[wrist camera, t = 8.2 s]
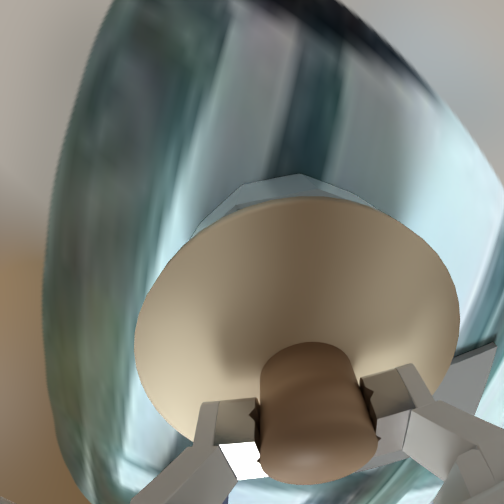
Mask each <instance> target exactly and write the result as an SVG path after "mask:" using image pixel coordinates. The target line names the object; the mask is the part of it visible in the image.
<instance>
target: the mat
mask: <svg viewBox="0 0 504 504" xmlns="http://www.w3.org/2000/svg"><path fill="white" fill-rule="evenodd" d="M496 349H497V346H496V344H495V343H494V342H492V343H489V344H487V345H485V346H482V347H480V348H477V349H475V350H472V351H470V352H467V353H465V354H462V355H459V356H457V357H454V358H453V359H452V361H451V364H450V367H449V369H448V371H447V373H446V375H445V377H444V379H443V380H442V382H441V384H440V385H439V387H438V388H437V390H436V391H435V393H434V394H433V395H432V396H433V398H434V400H435V402H436V401H439V400H441V401H443V402H446V403H448V404H450V405H452V406H454V407H456V408H458V409H460V410H463V411H465V412H467V413H469V414H471V415H473V416H474V415H475V412H476V410H477V407H478V405H479V402H480V399H481V397H482V394H483V391H484V388H485V385H486V382H487V379H488V376H489V373H490V370H491V367H492V363H493V360H494V356H495V353H496ZM402 450H403V449H402ZM402 450H399V451H395V452H392V453H388V454H384V455H380V456H376V457H372V459H371V460H370V461H369V462H368V463H367V464H366V465H364V466H363V467H362V468H360V469H359V470H357V471H355V473H356V472H360V471H364V470H368V469H372V468H376V467H379V466H383V465H386V464H390V463H393V462H396V461H400V460H403V459H406V458H409V457H410V456H409V455H407V454H406V453H405V452H403V451H402Z"/></svg>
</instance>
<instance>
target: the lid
mask: <svg viewBox="0 0 504 504" xmlns="http://www.w3.org/2000/svg"><path fill="white" fill-rule="evenodd" d="M459 326H460V313H459V302H458V297H457V293H456V289H455V285H454V283H453V281H452V278H451V276H450V274H449V272H448V269H447V268H446V266H445V265H444V263H443V262H442V260H441V259H440V257H439V256H438V254H437V253H436V252H435V251H434V250H433V249H432V248H431V247H430V246H429V245H428V244H427V243H426V242H425V241H424V240H423V239H422V238H421V237H420V236H418V235H417V234H416V233H414V232H413V231H411V230H410V229H409V228H407V227H406V226H404V225H403V224H401V223H400V222H398V221H397V220H395V219H394V218H392V217H391V216H389V215H387V214H385V213H383V212H381V211H378V210H376V209H374V208H372V207H370V206H367V205H363V204H360V203H357V202H354V201H350V200H346V199H339V198H332V197H325V196H296V197H289V198H281V199H274V200H269V201H266V202H262V203H259V204H255V205H252V206H248V207H245V208H243V209H241V210H238V211H236V212H234V213H231V214H229V215H227V216H225V217H222V218H221V219H219V220H217V221H216V222H214V223H213V224H211V225H209V226H208V227H206V228H204V229H203V230H201V231H200V232H199V233H198V234H196V235H195V236H194V237H193V238H192V239H190V240H189V241H188V242H187V243H186V244H184V245H183V246H182V247H181V248H180V250H179V251H178V252H177V253H176V254H175V255H174V256H173V257H172V259H171V260H170V261H169V262H168V263H167V265H166V266H165V268H164V269H163V271H162V272H161V274H160V275H159V277H158V278H157V280H156V282H155V283H154V285H153V286H152V288H151V289H150V291H149V293H148V294H147V296H146V298H145V301H144V303H143V306H142V308H141V311H140V313H139V316H138V321H137V325H136V330H135V342H134V353H135V361H136V368H137V371H138V374H139V378H140V381H141V384H142V386H143V388H144V390H145V392H146V394H147V396H148V398H149V399H150V401H151V402H152V404H153V405H154V407H155V408H156V410H157V411H158V412H159V413H160V414H161V416H162V417H163V418H164V419H165V420H166V421H167V422H168V423H169V424H170V425H171V426H172V427H173V428H175V429H176V430H177V431H178V432H179V433H181V434H182V435H183V436H185V437H186V438H188V439H189V440H191V441H192V442H193V441H194V436H195V431H196V426H197V421H198V415H199V410H200V406H201V404H202V403H203V402H209V401H221V400H232V399H243V398H253V397H256V398H257V399H258V401H259V404H260V466H261V468H262V470H263V472H264V473H265V474H266V475H268V476H269V477H271V478H273V479H275V480H277V481H280V482H284V483H288V484H296V485H312V484H320V483H326V482H330V481H334V480H337V479H340V478H343V477H345V476H347V475H350V474H352V473H354V472H355V471H357V470H359V469H360V468H362V467H363V466H364V465H366V464H367V463H368V462H369V461H370V460H371V459H372V457H373V456H374V454H375V453H376V451H377V448H378V440H377V437H376V434H375V431H374V428H373V425H372V422H371V419H370V416H369V413H368V410H367V407H366V404H365V401H364V398H363V395H362V393H361V390H360V387H359V380H360V377H363V376H367V375H371V374H374V373H378V372H382V371H385V370H389V369H392V368H395V367H399V366H402V365H405V364H409V363H412V364H414V366H415V367H416V369H417V371H418V372H419V374H420V376H421V377H422V379H423V381H424V382H425V384H426V386H427V388H428V389H429V391H430V393H431V395H433V394H434V393H435V391H436V390H437V388H438V387H439V385H440V384H441V382H442V380H443V379H444V377H445V375H446V373H447V371H448V369H449V367H450V364H451V361H452V359H453V356H454V353H455V350H456V346H457V341H458V337H459Z"/></svg>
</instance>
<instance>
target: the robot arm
mask: <svg viewBox="0 0 504 504" xmlns="http://www.w3.org/2000/svg"><path fill="white" fill-rule="evenodd" d="M359 387H360V390H361V393H362V395H363V398H364V401H365V404H366V407H367V410H368V413H369V416H370V419H371V422H372V425H373V428H374V431H375V434H376V437H377V440H378V448H377V451H376V453H375V454H374V456H373V457H376V456H380V455H384V454H388V453H392V452H395V451H399V450H402V449H403V450H402V451H403V452H405V453H406V454H407V455H409V456H410V457H411V458H413V459H414V460H415V461H417V462H418V463H419V464H421V465H422V466H423V467H425V468H426V469H428V470H429V471H430V472H432V473H433V474H434V475H436V476H437V477H439V478H440V479H441V480H443V481H444V483H443V485H442V487H441V489H440V490H439V492H438V494H437V495H436V497H435V499H434V500H433V502H434V504H504V429H502V428H500V427H498V426H495V425H493V424H491V423H489V422H487V421H484V420H482V419H480V418H478V417H476V416H473V415H471V414H469V413H467V412H465V411H463V410H460V409H458V408H456V407H454V406H452V405H450V404H448V403H446V402H443V401H441V400H439V401H436V402H435V400H434V398H433V396H432V395H431V393H430V391H429V389H428V388H427V386H426V384H425V382H424V381H423V379H422V377H421V376H420V374H419V372H418V371H417V369H416V367H415V366H414V364H412V363H409V364H405V365H402V366H399V367H395V368H392V369H389V370H385V371H382V372H378V373H374V374H371V375H367V376H363V377H360V380H359ZM261 477H268V475H266V474H265V473H264V472H263V470H262V468H261V466H260V404H259V401H258V399H257V398H256V397H253V398H243V399H232V400H221V401H209V402H203V403H202V404H201V406H200V410H199V415H198V421H197V426H196V431H195V436H194V441H193V447H187V448H186V449H185V450H184V451H183V452H182V453H181V454H180V455H179V456H178V457H177V458H176V459H175V460H174V461H173V462H171V463H170V464H169V465H168V466H167V467H166V468H165V469H164V470H163V471H162V472H161V473H160V474H159V475H158V476H157V477H155V478H154V479H153V480H152V481H151V482H150V483H149V484H148V485H147V486H146V487H145V488H143V489H142V490H141V491H140V492H139V493H138V494H137V495H136V496H134V497H133V498H132V499H131V503H130V504H222V503H223V501H224V500H225V499H226V497H227V496H228V495H229V493H230V492H231V490H232V489H233V488H234V486H235V485H236V483H237V482H238V480H240V479H251V478H261ZM0 504H15V503H13V502H11V501H9V500H7V499H5V498H3V497H1V496H0Z"/></svg>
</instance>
